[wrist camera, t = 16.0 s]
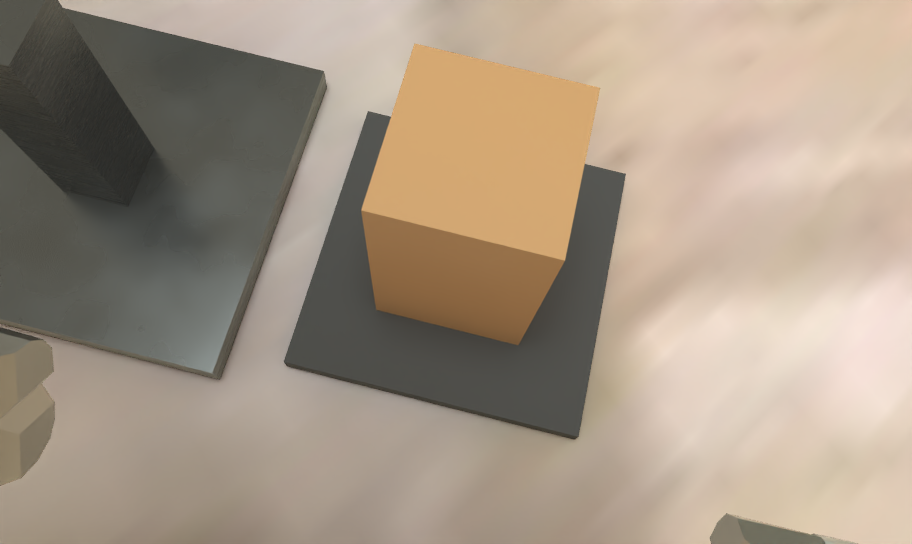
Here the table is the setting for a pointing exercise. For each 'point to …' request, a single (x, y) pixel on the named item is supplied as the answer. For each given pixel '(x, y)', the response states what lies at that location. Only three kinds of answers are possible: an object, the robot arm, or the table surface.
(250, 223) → the post stand
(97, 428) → the table surface
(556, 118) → the tan rectangular pillar
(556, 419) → the mat
